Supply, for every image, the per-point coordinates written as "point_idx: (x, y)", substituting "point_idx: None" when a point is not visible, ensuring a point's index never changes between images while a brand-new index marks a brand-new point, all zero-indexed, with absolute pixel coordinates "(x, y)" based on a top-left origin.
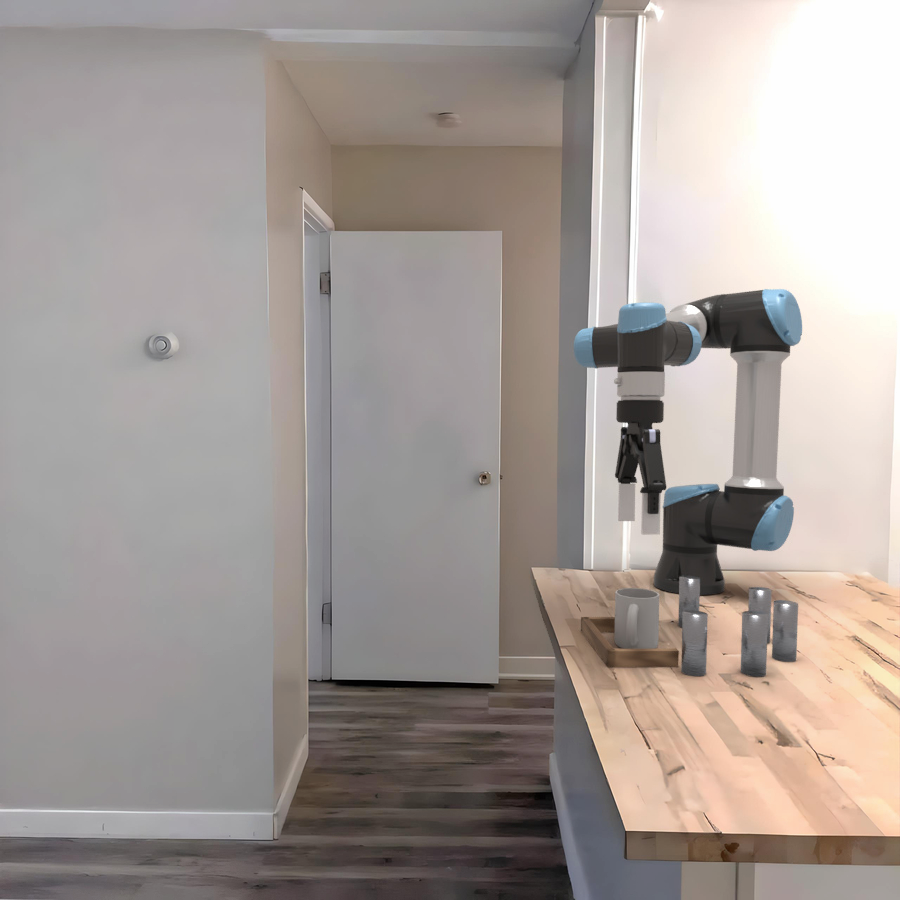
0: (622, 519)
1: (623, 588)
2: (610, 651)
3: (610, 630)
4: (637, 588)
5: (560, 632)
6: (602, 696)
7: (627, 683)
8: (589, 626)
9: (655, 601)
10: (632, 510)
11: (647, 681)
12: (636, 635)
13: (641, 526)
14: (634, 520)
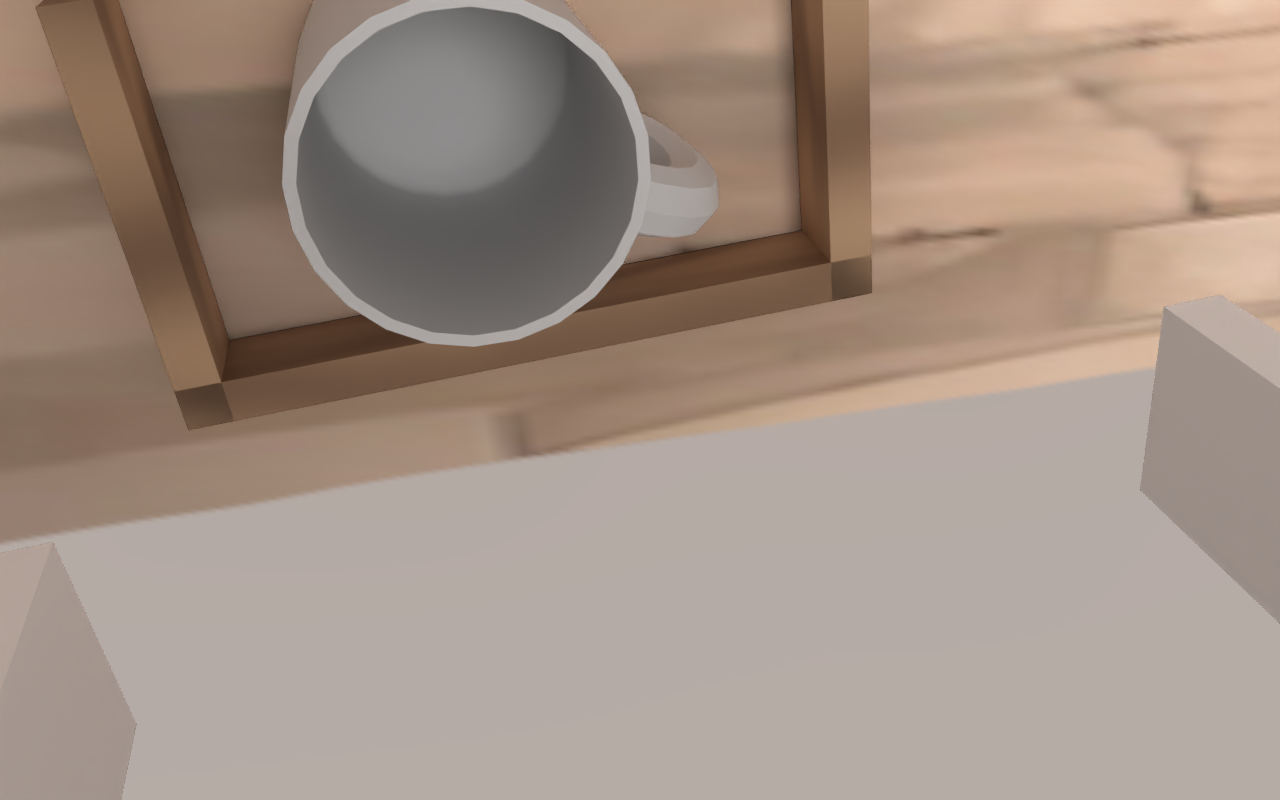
0: (112, 707)
1: (323, 279)
2: (871, 282)
3: (185, 216)
4: (292, 162)
5: (266, 489)
6: (1174, 297)
7: (1048, 184)
8: (410, 381)
9: (592, 37)
10: (33, 693)
11: (1032, 86)
12: (672, 131)
13: (1198, 541)
14: (47, 550)
